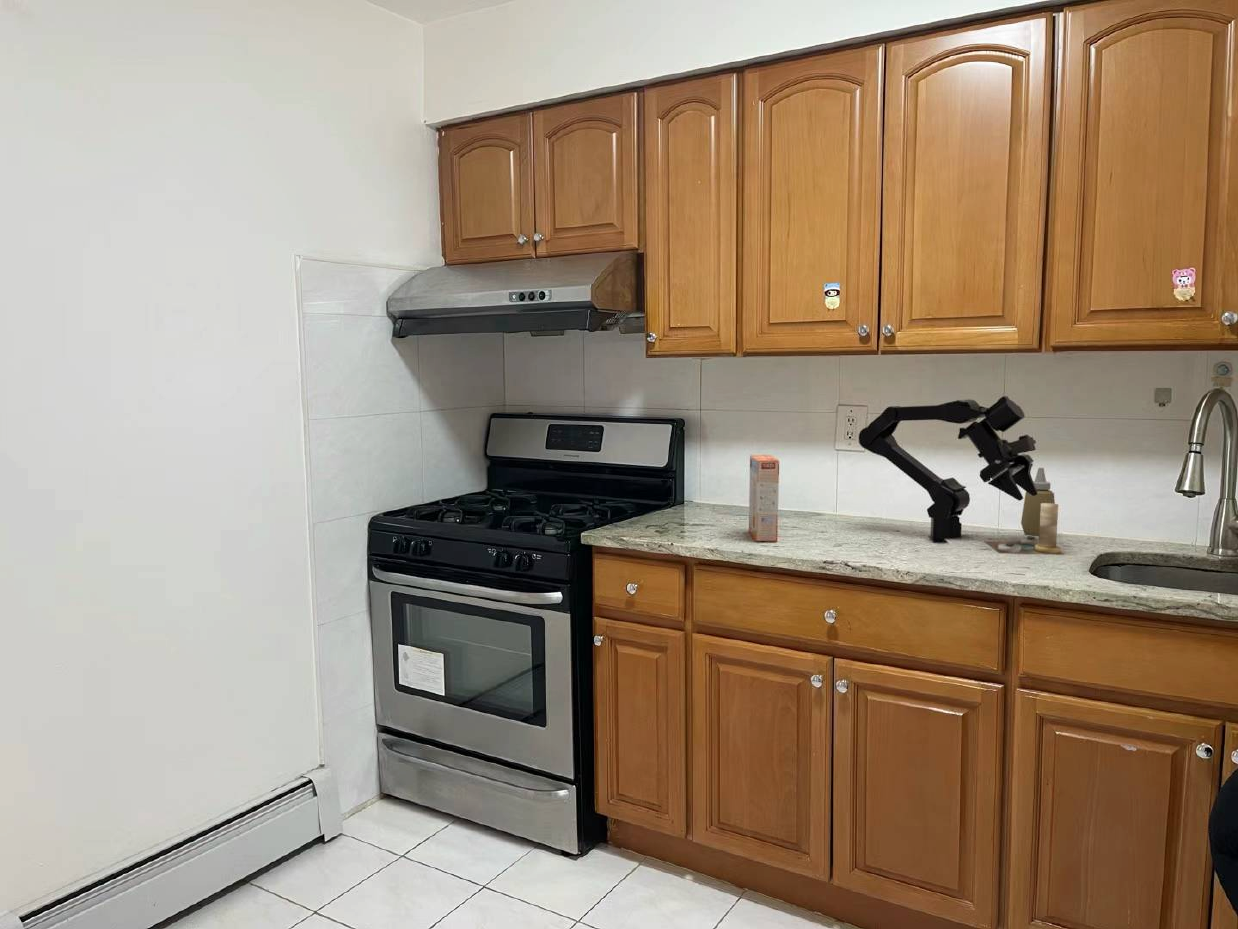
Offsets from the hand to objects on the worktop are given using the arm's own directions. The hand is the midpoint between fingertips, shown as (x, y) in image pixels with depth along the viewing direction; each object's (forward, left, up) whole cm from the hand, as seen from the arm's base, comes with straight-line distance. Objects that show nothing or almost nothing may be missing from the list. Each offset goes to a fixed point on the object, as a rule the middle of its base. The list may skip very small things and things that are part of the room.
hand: (1028, 497), depth 208 cm
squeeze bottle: (+8, +18, -13) cm, 23 cm away
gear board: (-1, -1, -13) cm, 13 cm away
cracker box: (-61, +12, -13) cm, 64 cm away
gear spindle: (+3, -5, -12) cm, 13 cm away
